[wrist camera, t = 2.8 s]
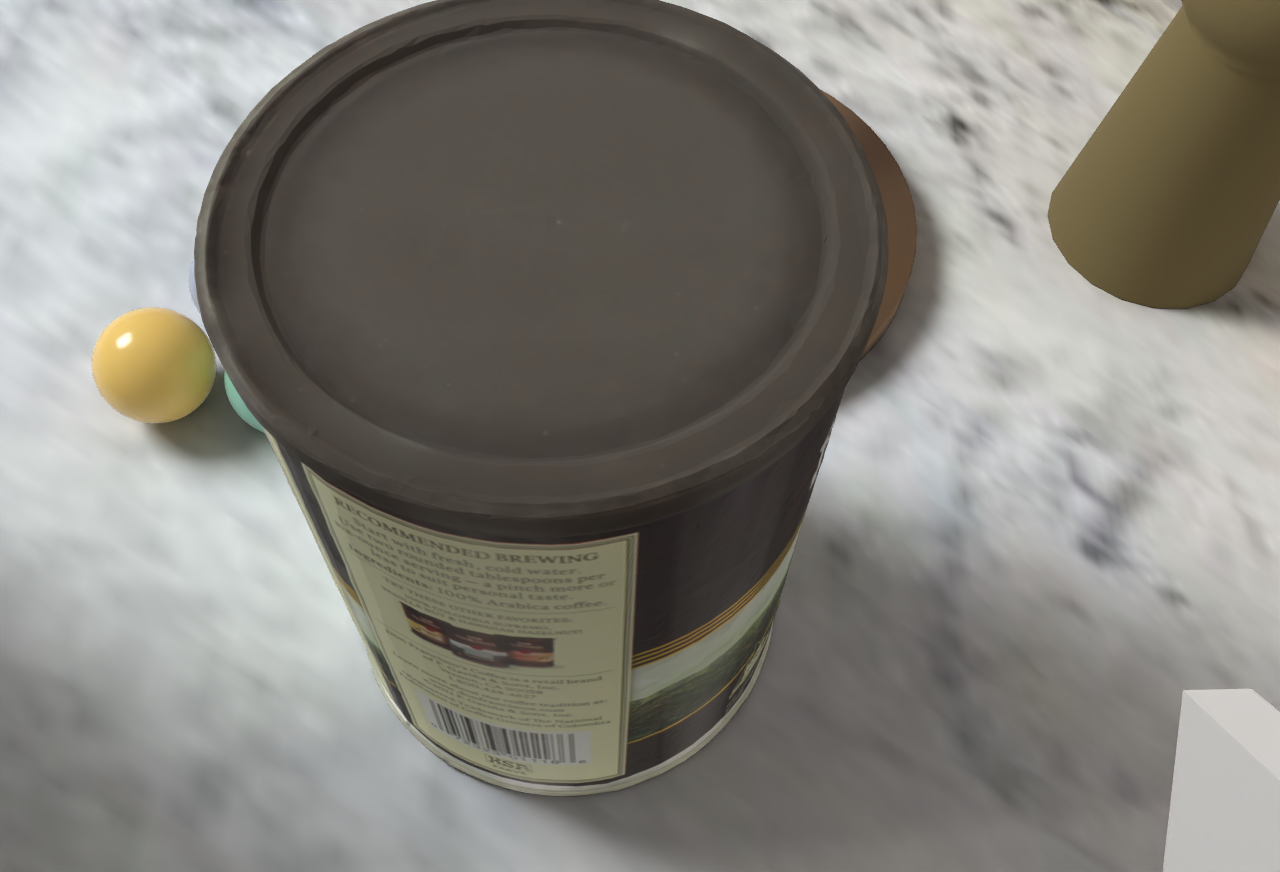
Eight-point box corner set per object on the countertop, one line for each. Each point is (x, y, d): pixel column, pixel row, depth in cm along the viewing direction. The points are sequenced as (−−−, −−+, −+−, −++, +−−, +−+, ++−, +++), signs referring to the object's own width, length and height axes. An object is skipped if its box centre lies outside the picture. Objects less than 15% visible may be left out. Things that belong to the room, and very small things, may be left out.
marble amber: (99, 381, 33) (56, 314, 30) (204, 334, 34) (171, 266, 31) (138, 463, 32) (98, 401, 29) (246, 412, 32) (216, 348, 30)
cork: (1202, 146, 39) (1397, -182, 29) (1283, 297, 36) (1530, -15, 26) (1021, 164, 38) (1160, -164, 28) (1087, 320, 35) (1268, 9, 25)
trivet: (396, 175, 37) (391, 151, 36) (745, 27, 41) (748, 3, 40) (620, 497, 31) (621, 478, 31) (999, 291, 35) (1009, 269, 34)
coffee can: (716, 385, 33) (782, -55, 21) (825, 748, 28) (993, 441, 16) (339, 449, 32) (180, 18, 20) (381, 843, 27) (202, 584, 15)
